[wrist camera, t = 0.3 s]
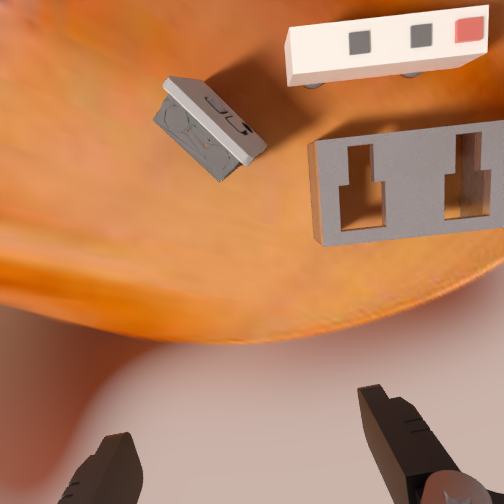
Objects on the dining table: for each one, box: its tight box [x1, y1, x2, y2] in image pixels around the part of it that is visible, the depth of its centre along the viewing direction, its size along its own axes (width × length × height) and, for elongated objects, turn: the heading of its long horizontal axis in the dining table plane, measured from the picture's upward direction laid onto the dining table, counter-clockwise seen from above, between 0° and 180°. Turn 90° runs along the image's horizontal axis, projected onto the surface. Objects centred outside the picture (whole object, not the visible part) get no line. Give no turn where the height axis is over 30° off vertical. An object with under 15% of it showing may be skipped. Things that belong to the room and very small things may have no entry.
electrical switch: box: [153, 76, 267, 182], centre depth 32 cm, size 9×5×9 cm, turn 47°
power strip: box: [284, 5, 489, 89], centre depth 31 cm, size 16×4×8 cm, turn 96°
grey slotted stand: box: [307, 120, 504, 247], centre depth 35 cm, size 10×18×5 cm, turn 96°
